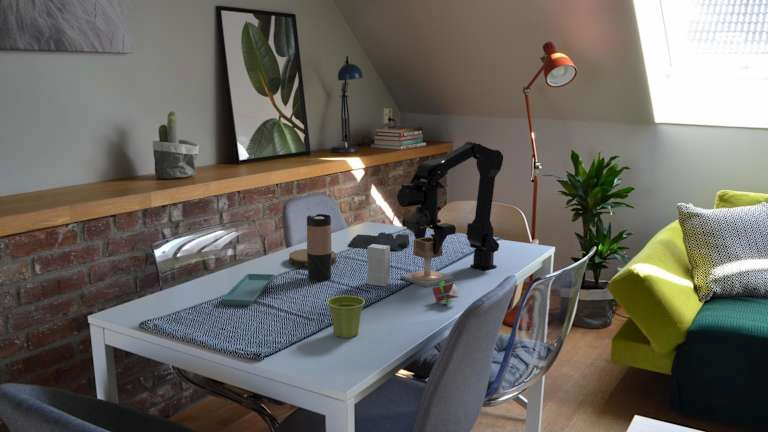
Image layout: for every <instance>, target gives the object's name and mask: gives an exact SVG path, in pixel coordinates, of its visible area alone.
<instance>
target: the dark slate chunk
mask: <svg viewBox="0 0 768 432" xmlns="http://www.w3.org/2000/svg"><path fill="white" fill-rule="evenodd" d="M410 242H411V241H410V236H409V234H401V233H397V234H396V235H395V237H394V235H393V233H386V232H384V231H383V232H379V233H378V234H377V235H372V234H369V235H368V234H359V233H358V234H356V235H355V236H354V237H352V239H351V240H350V242H349V243H348V246H347V247H348V248H349V249H351V248H352V249H360V250H367V247H368V246H370V245H372V244H377V245H386V246H390V252H395V253H397V252H403V251H404V250H405V249H407V248H408V247H409V246H410V244H411V243H410Z"/></svg>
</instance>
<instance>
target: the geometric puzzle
mask: <svg viewBox="0 0 768 432" xmlns="http://www.w3.org/2000/svg"><path fill="white" fill-rule="evenodd" d="M432 293H433V295H434V299H435V301H436V303H443V304H442V305H445V306H448V305H450V304H451V303H452V301H453V302H454V300H456V299H457V298H459V289H458V287H457V286H456V284H455V283H454V282H451V283H447V282H444V279H443V280H442V281H441V282H440V283H439V284H437V285H436V286H435V287H432Z"/></svg>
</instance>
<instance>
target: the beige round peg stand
mask: <svg viewBox="0 0 768 432" xmlns="http://www.w3.org/2000/svg"><path fill="white" fill-rule="evenodd" d="M401 278H402V280H404V279H405V280H404V281H407V282H409V283H413V284H416V285H418V286H421V287H422V286H423V287H424V288H429V287H434V286H438V285H439V283H440V282H441V281H442V280H443V279H444V282H445V283H449V282H451V281H455V276H452V275H449V274H446V273H444V272H440V271H437V270H434V269H432V258H431V259H425V258H423V269H420V270H416V271H413V272H407V273H405V274H401V275H400V279H401ZM437 284H438V285H437Z"/></svg>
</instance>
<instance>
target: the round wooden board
mask: <svg viewBox="0 0 768 432" xmlns="http://www.w3.org/2000/svg"><path fill="white" fill-rule="evenodd" d="M288 255H289V256H288V257H289V260H288V263H289V265H290V266H292V267H295V268H300V269H308V261H307V248H301V249H298V250H297V249H296V250H293V251H291V252H289V254H288ZM336 263H337V254H336V252H335V251H333V250H332V252H331V266H333V265H335V264H336Z"/></svg>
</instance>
